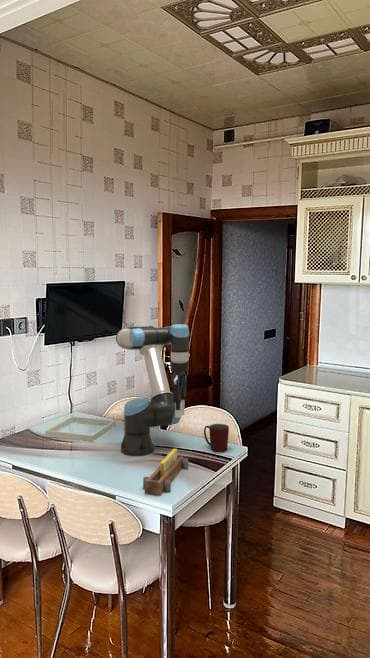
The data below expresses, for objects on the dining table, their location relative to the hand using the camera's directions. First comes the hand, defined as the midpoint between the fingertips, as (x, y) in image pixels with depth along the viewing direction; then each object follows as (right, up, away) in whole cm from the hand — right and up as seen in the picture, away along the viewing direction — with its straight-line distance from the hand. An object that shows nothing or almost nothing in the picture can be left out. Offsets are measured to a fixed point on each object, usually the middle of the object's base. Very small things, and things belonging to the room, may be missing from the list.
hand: (179, 415), depth 211 cm
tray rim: (-51, -16, +44) cm, 69 cm away
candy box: (-4, -22, -11) cm, 25 cm away
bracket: (-6, -22, -15) cm, 28 cm away
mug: (+16, -19, +18) cm, 31 cm away
